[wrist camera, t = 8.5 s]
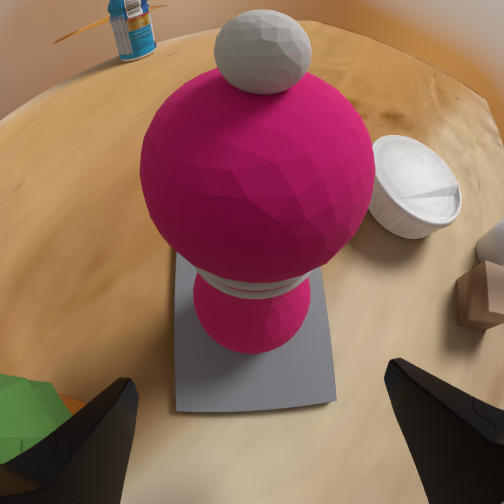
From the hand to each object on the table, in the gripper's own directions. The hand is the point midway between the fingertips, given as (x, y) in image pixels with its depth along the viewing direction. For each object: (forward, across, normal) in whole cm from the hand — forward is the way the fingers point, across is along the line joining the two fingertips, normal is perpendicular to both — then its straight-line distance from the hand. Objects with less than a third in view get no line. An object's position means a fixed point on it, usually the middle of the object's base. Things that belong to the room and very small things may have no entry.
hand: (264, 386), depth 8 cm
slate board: (+13, 0, +5) cm, 14 cm away
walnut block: (+12, -24, +7) cm, 27 cm away
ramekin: (+21, -17, -2) cm, 27 cm away
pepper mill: (+12, 0, +4) cm, 13 cm away
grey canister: (+15, -29, +3) cm, 33 cm away
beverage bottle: (+50, +21, -33) cm, 64 cm away
